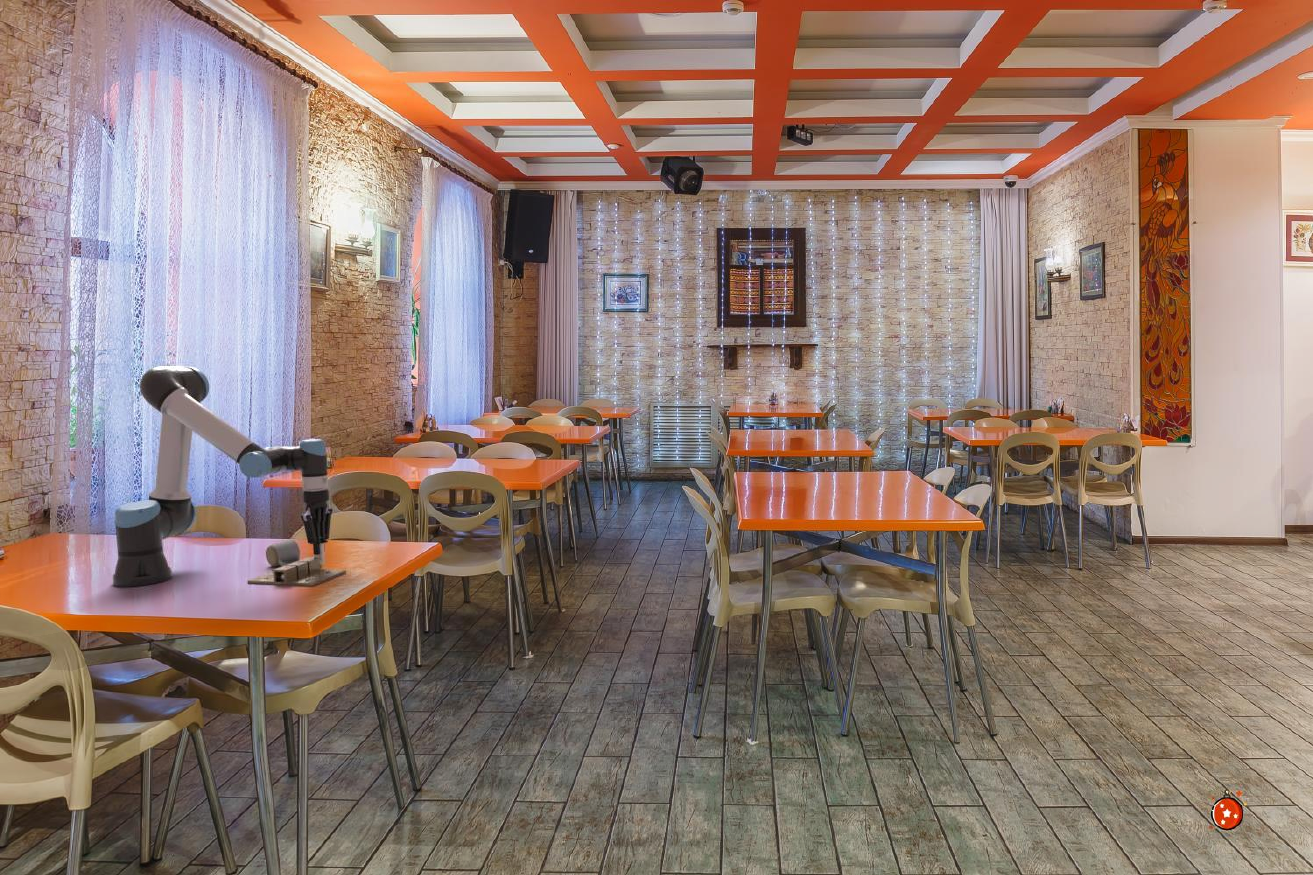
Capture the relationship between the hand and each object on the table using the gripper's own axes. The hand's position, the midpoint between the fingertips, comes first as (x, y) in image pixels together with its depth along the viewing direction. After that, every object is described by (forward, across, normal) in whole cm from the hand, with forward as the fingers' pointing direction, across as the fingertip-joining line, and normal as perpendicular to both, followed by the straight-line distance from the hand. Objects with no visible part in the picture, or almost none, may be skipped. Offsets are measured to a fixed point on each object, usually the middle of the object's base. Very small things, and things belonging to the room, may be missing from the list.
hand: (320, 564), depth 266 cm
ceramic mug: (+2, +3, +15) cm, 15 cm away
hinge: (+2, -11, 0) cm, 11 cm away
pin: (+2, -10, 0) cm, 10 cm away
